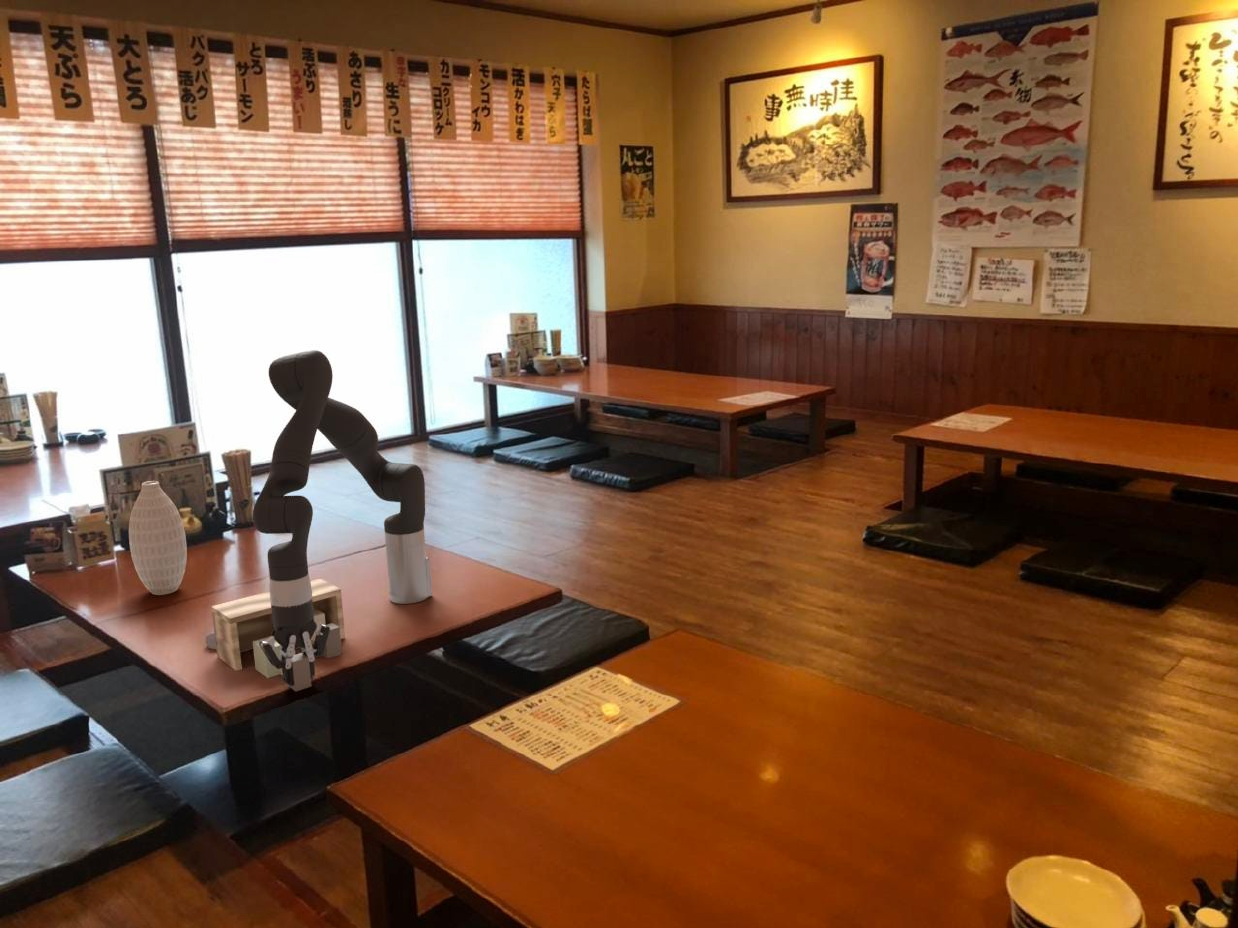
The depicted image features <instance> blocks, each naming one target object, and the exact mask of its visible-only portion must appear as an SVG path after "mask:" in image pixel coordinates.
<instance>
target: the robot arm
mask: <svg viewBox="0 0 1238 928" xmlns="http://www.w3.org/2000/svg"><path fill="white" fill-rule="evenodd" d="M268 377H269V378H268V379H269V382H270V384H271V385H272V388H273V389H274V391H275V393H276V394H277V395H278V396H279V397H280V399H282V400H283V402H285V403H287V405H289V406H290V407H292V409H294V410H295V411H294V413H293V415H292V417H291V418H290V420H288V423H286V424H285V427H284V428H283V429H282V431H281V433H280V434H279V436H278V437H277V439H276V441H275V443H274V447H273V452H272V455H271V462H270V468H269V473H268V476H267V478H266V481H265V483H264V485H263V488H262V489H261V492H259V495H258V497H257V499H256V501H255V503H254V506H253V510H252V522H253V525H254V528H255V530H257V531H258V532H259V533H261V534H265V535H268V534H270V535H272V534H273V535H274V534H275V535H276V534H291V535H292V536H291V540H289V541H285V542H281V543H278V544H275V545H272V546H271V547H269V549H268V551H267V565H268V575H269V591H270V600H271V610H272V620H273V626H274V629H273V632H272V636H271V637H270V638H268V639H267V640H266V641H264V640H262V641H260V642H259V646H260V647H261V649H262V650H263V652H264V653H265V655H266V657H267V658H268V660H269V661H270V663H271V665H273V666H275V667H276V668H277V669H280V668H282V674H283V676H282V681H283V682H284V683H285V684H286V685H288V687H289V686H294V678H293V668H291V665H292V657H293V656H294V650H295V651H296V650H297V649H300V650H301V653H303V654H304V655H306V656H307V657H309V666H310V676H311V681H312V680H313V679H314V676H315V674H316V670H315V661H316V658H318V657H321V656H323V652H324V648H325V645H326V642H327V638H328V635H329V631H330V627H328V626H327V625H325V624H323V623H321V624H316V622H315V621H314V612H313V601H312V589H311V583H310V581H311V579H310V574H309V567H308V542H309V541H308V540H309V535H310V530H311V526H312V521H313V515H314V514H313V513H314V509H313V506H312V503H311V502H310V500H309V499H308V498H307V497H306V496H304V495H288V494H290V493H294V492H298V491H301V490H302V489H304V488H305V487H306V486H307V484H308V480H309V473H310V466H311V458H312V452H313V445H314V442H315V437H316V435H317V431H319V432H320V433H321V434H322V435H323V436H324V437H325V438H326V439H327V441H328V442H329V443H330V444H331V445H332V446H333V447H334V448H335V449H336V450H337V451H338V452H339V453H340V454H341V455H342V456H343V457H345V459H346V460H347V461H348V462H349V463H350V464H351V465H352V466H353V468H354V469H356V471H357V472H358V473H359V474H360V475H361V477H362V478H363V479H364V481H365V482H366V484H367V485H368V486H369V487H370V489H371V490H372V491H373V494H375V496H377V497H378V498H379V499H381V500H382V501H385V502H390V503H391V502H392V503H399V504H400V505H399V507H400V509H399V512H397V513H395V514H392V515H389V516H388V517H386V518H385V519H384V522H383V527H384V541H385V553H386V565H387V578H388V587H389V588H388V591H389V593H388V594H389V599H390V602H392V603H394V604H398V605H399V604H402V605H406V604H408V605H409V604H415V603H420V602H422V601H425V600H427V599H428V598H429V597H431V596H433V588H432V587H433V586H432V574H431V570H432V569H431V560H430V558H429V557H428V556H427V551H426V550H427V549H426V539H425V537H426V536H425V525H424V524H425V522H424V521H425V518H426V490H425V489H426V485H425V483H426V482H425V477H424V476H425V475H424V472H423V471H422V468H421V467H420V466H418V465H417V464H412V463H399V462H391V461H389V460H387V459H386V458H385V457H384V456H382V455H381V454H380V452H378V448H379V435H378V432H377V430H376V428H375V427H374V426H373V424H372V423H371V422H370V421H369V420H368V419H367V418H366V416H365V415H364V414H363V413H362V412H361V411H360V410H358V409H357V408H355V407H353V406H351V405H349V404H346V403H344V402H342V401H338V400H336V399H334V398H331V397H329V396H330V393H331V390H332V385H333V377H334V375H333V368H332V365H331V363H330V360H329V359H328V357H327V356H326V355H325V354H324V353H323V352H322V351H319V350H316V349H315V350H313V349H311V350H307V351H302V352H297V353H293V354H288V355H283V356H281V357H278V358H275V360H274V359H273V361H272V362H271V363H270V364H269V368H268ZM314 632H315V633H316V637H315V641H314V644H311V641H310V640H311V638H312V636H313V634H314ZM275 641H276V642H277V643H278V644H280V645H281V646H280V653H281V659H280V660H279V659H278V657H277V655H276V654H275V652H274V651H273V649H275V645H274V643H275Z"/></svg>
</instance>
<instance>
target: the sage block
mask: <svg viewBox="0 0 1238 928" xmlns="http://www.w3.org/2000/svg"><path fill="white" fill-rule="evenodd" d="M270 637H271V636H270ZM270 637H267V638H263V639H260V640H256V641H253V649H252V651H253V656H254V658H253V659H254V667H255V670H256V671H258V672H259V673H260V674H262V675H263V676H264V677H265V678H266V679H269V678H273V677H277V676H279V675H280V676H282V677H283V674H282V668H280V669H277V668H276V667H275V666H273V665H271V663H270V661H269V660H268V658H267V657H266V655H265V653H264V652H263V650H262V649H261V647H260V646H259V642H260V641H262V640H264V641H266V640H267V639H268V638H270ZM274 645H275V649H273V651H274V652H275V654H276V655H277V657H278V659H279V660H280V659H281V653H280V646H281V645H280V644H278V643H277V642H276V641H275V643H274ZM291 668H293V678H294V686H289V685H288V687H289V688H290V689H292V690H293V691H294V692H298V691H301V690H304V689H308V688H310V687H312V680H311V676H310V666H309V657H307V656H306V655H304V654H303V653H302V652H300V653H297V654H296V650H294V656H293V657H292V665H291Z"/></svg>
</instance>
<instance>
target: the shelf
mask: <svg viewBox="0 0 1238 928" xmlns="http://www.w3.org/2000/svg"><path fill="white" fill-rule="evenodd" d="M310 583H311V589H312V601H313V607H314V608H316V609H317V610H319V611H321V612H323V613H324V614H325V624H326V625H328V624H331V623H333V624H335V625H337V626H338V627H340V638H341V640H343V639H346V631H345V630H346V629H345V620H344V609H343V608H344V607H343V599H342V598H343V597H342V589H341V588H339V587H337V586H336V585H334V584H332V583H330V582H328V581H326V580H324V579H321V578H318V579H316V578H315V579H313V580H310ZM210 608H211V615H212V621H213V622H212V624H213V628H214V630H213V632H215V640H216V648H217V649H216V653H217V654H216V655H217V658H219V659H220V660H221V661H222V662H224V663H225V664H226V665H228V666H229V667H231V668H232V669H233V671H240V670H242V669H243V666H242V659H241V658H242V657H241V653H243V652H246V651H249V650H253V641H256V640H260V639H263V638H267V637H270V636H272V632H273V629H274V626H273V620H272V610H271V600H270V590H269V591H266V592H262V593H258V594H254V595H253V594H252V595H250V596H246V597H242V598H239V599H238V598H237V599H234V600H230V601H227V602H223V603H219V604H215V605H211V607H210Z"/></svg>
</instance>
